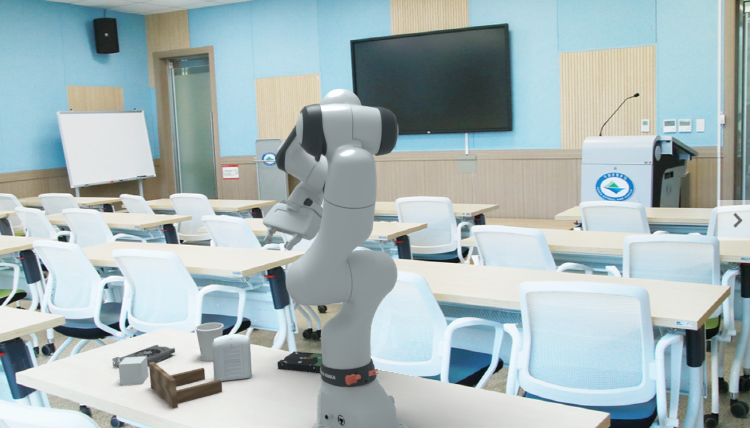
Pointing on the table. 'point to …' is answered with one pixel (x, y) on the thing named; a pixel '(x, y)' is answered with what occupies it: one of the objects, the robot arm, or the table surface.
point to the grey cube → (133, 370)
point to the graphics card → (148, 354)
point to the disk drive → (301, 362)
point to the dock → (168, 383)
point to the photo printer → (231, 357)
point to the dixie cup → (208, 338)
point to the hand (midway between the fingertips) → (276, 245)
